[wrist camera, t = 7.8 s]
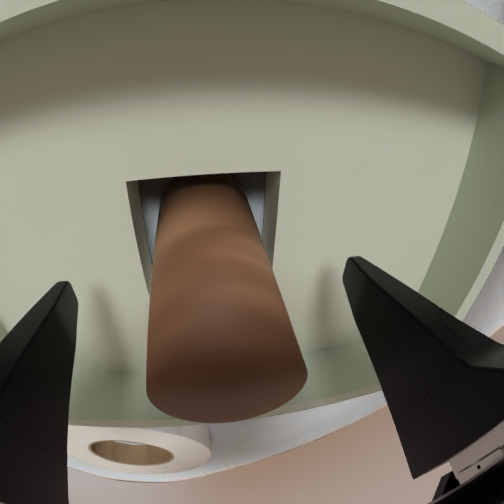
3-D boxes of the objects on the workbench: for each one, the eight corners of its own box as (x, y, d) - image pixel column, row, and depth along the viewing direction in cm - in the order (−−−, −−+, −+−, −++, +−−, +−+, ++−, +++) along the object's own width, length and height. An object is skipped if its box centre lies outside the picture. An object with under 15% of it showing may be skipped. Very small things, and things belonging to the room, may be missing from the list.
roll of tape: (33, 419, 23) (30, 443, 21) (105, 374, 19) (102, 410, 17) (146, 459, 32) (148, 479, 30) (241, 427, 28) (246, 453, 26)
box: (470, 41, 9) (555, 65, 5) (390, 318, 20) (423, 376, 16) (-70, 64, 5) (-148, 97, 2) (35, 352, 16) (20, 419, 12)
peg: (249, 166, 12) (322, 332, 6) (246, 242, 14) (295, 411, 8) (155, 172, 11) (126, 353, 5) (165, 249, 14) (163, 427, 7)
